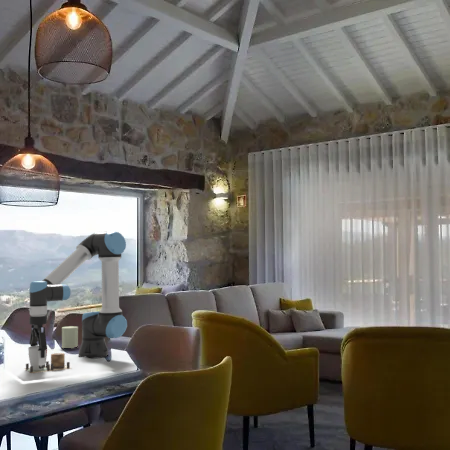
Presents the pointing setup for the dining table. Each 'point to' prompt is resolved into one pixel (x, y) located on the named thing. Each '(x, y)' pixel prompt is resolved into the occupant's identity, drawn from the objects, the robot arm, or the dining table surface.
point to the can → (69, 337)
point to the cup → (35, 358)
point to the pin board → (46, 368)
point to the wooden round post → (58, 360)
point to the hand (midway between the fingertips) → (37, 362)
